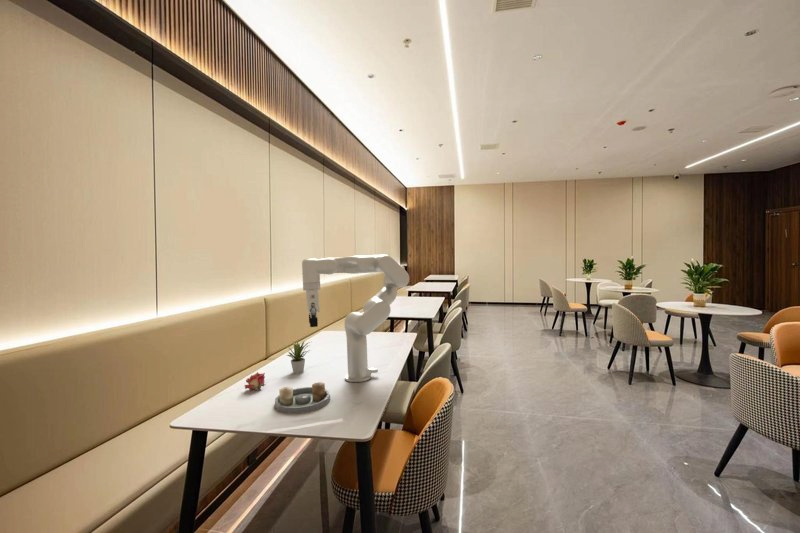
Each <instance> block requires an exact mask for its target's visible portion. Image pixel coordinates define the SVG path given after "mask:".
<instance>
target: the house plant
mask: <svg viewBox="0 0 800 533" xmlns="http://www.w3.org/2000/svg"><path fill="white" fill-rule="evenodd" d="M305 342H306V341H305V340H304V341H302V343H301V344H300V343H299V342H298V340H296V341H293V350H292V348H291V347H289V346H288V345H284V346H285V347H287V348H288V349H289V350H290V351H288V354H286V356H287V357H290V358H291V359H290V363H291V369H292V373H293V374H302V373H304V372H305V371H304V370H305V361H306V359H305V358H304V357H305V356H306V354H307V353H309V352H310V351H311V349H309V350H307V351H305V350H306V348H308V347H309V346H311V345H310V343H311V341H308V342H306V343H305ZM308 344H309V345H308Z"/></svg>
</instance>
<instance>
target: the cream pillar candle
mask: <svg viewBox="0 0 800 533" xmlns="http://www.w3.org/2000/svg"><path fill="white" fill-rule="evenodd" d="M293 389H294V388H293V387H292V386H283V387H281V388H279V389H278V390H279V391H278V392H279V395H280V405H283V406H290V405H292V404H293ZM279 395H278V396H279Z"/></svg>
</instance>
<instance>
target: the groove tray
mask: <svg viewBox="0 0 800 533" xmlns="http://www.w3.org/2000/svg"><path fill="white" fill-rule="evenodd" d="M330 401H331V394H330V390H328V389H326V388H325V399H323V400H321V401H320V402H314V401H313V396H312V386H307V387H305V386H304V387H297V388H293V404H292V405H290V406H283V405H280V395H278V396H277V397H275V400H274V408H275V409H276V410H277V411H278V412H280V413H283V414H302V413H309V412H312V411H313V412H314V411H316V410H318V409H321V408H323V407H325V406H326V405H328V404H329V402H330Z"/></svg>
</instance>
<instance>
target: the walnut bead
mask: <svg viewBox="0 0 800 533" xmlns="http://www.w3.org/2000/svg"><path fill="white" fill-rule="evenodd" d="M311 387H312V396H313V401H314V402H320V401H321V400H323V399H325V389H326V385H325V383H324V382H321V381H319V382H315V383H313V384H311Z"/></svg>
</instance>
